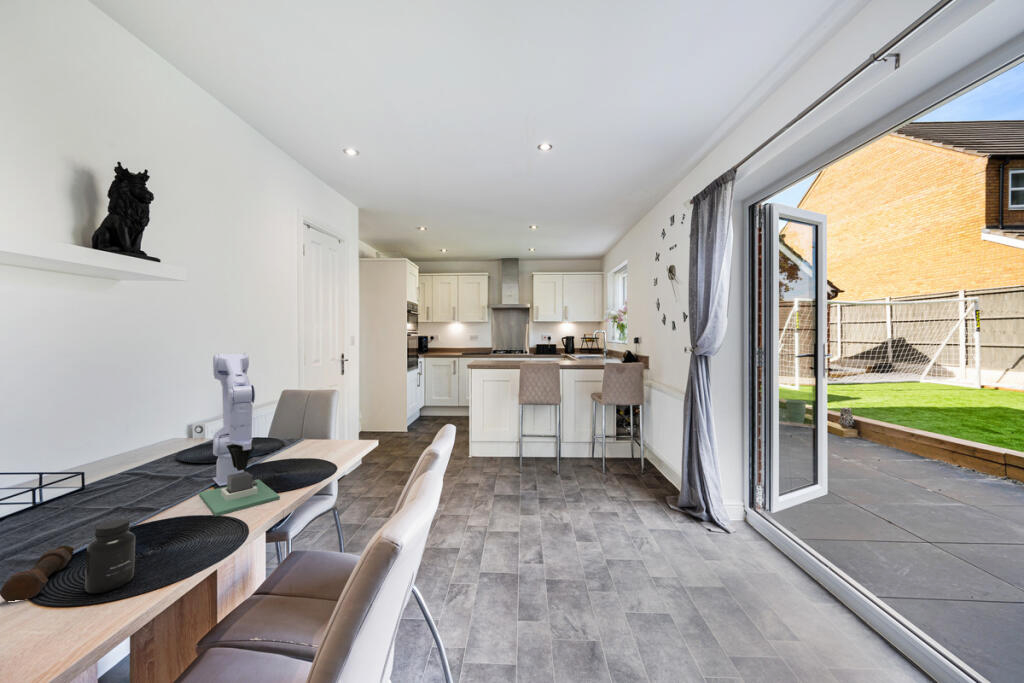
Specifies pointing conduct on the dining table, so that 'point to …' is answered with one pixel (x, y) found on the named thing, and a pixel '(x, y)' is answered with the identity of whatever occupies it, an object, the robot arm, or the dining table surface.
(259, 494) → the header board
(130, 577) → the supplement bottle
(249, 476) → the plug
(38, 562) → the brown elongated piece
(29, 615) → the dining table surface
